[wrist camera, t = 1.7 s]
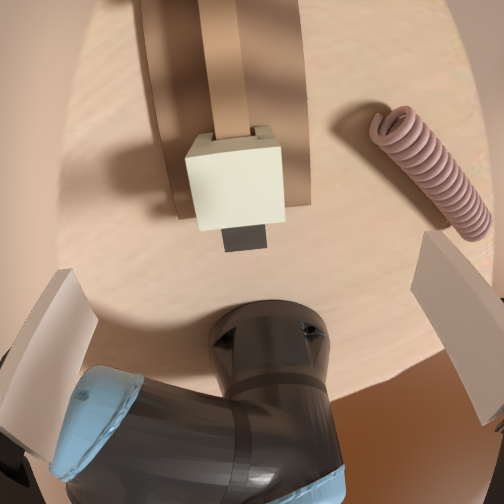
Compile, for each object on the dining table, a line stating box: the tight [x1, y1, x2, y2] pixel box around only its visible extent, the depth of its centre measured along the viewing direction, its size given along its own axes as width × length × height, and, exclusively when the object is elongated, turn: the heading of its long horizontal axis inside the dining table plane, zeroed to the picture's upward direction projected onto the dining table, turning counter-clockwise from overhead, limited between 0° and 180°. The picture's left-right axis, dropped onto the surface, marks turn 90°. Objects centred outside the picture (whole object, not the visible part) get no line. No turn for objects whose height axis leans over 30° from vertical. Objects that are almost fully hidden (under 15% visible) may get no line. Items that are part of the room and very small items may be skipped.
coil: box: [369, 106, 493, 242], centre depth 25 cm, size 5×5×18 cm
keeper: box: [185, 126, 286, 231], centre depth 21 cm, size 5×6×7 cm
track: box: [140, 0, 311, 252], centre depth 19 cm, size 22×12×7 cm, turn 6°
